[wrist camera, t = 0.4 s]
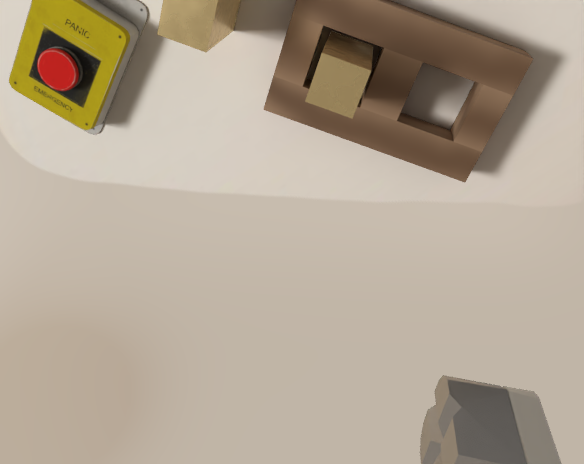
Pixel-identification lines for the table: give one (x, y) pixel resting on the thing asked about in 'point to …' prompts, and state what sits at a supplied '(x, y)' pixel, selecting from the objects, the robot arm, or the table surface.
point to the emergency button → (77, 56)
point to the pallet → (400, 81)
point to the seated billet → (341, 74)
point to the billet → (198, 21)
